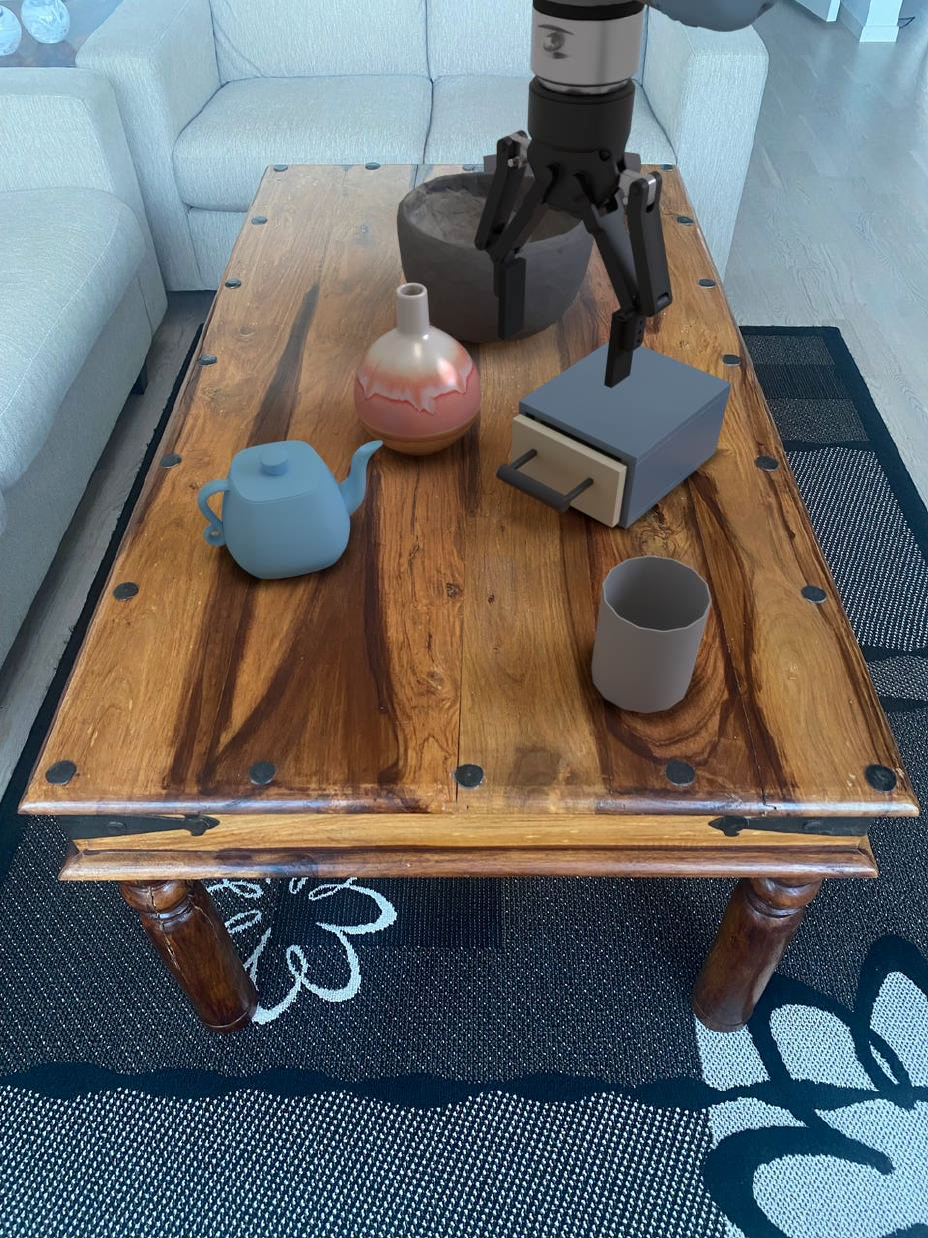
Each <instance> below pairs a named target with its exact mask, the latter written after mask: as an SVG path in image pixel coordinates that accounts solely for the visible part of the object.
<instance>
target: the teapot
mask: <svg viewBox="0 0 928 1238" xmlns="http://www.w3.org/2000/svg"><path fill="white" fill-rule="evenodd" d="M382 445H383V441H381V440H378V441H377V440H373V441H370V442H367V443H365V444H363V445H361V446H360V447H358V448H357V449H356V450H355V452H354V453H353V456H352V458H351V463H350V472H349V475H348V476H347V478H346V479H344V480H343V481H342V482H340V483H339V482H338V480H337V479H336V477H335V476H334V474H333V472H332V471H331V470H330V468H329V466H327V464H326V462H325V461H324V460H323V459H322V457H321V456H320V455H319V453H317V451H316V450H315V448H313V447H312V446H311V445H310V443H307V442H305V441H302V440H293V439H292V440H282V441H275V442H269V443H264V444H259V445H255V446H251V447H247V448H244V449H242V450H240V451H239V452H237V453H236V454H235V455H234V456H233V458H232V461H231V463H230V466H229V468H228V473H227V477H226V478H217V479H213V480H211V481H209V482H207V483H206V484H204V485H202V486H201V488H200V490H198V493H197V498H196V502H197V507H198V509H199V511H200V512H201V514H202V516H203V517H204V518H205V519H206V521H207V522H208V523H209V524H208V525H207V526H206V527H205V529H204V530H203V538H204V540H205V542H206V543H207V544H208V545H209V546H213V547H221V546H224V545H226V547H227V549H228V551H229V553H230V555H231V556H232V557H233V559H234V560H235V562H236V563H237V564H238V565H239V566H240V568H242V569H243V570H244V571H246V572H247V573H248V574H250V575H252V576H253V577H256V578H258V579H263V580H279V579H284V578H292V577H297V576H302V575H306V574H310V573H315V572H318V571H321V570H324V569H327V568H329V567H331V566H333V565H334V564H335V563H336V562H337V561H339V559H340V558H341V557H342V555H343V553H344V552H345V550H346V548H347V546H348V544H349V543H348V542H349V537H350V532H351V520H350V516H351V515H352V514H354V513H355V512H356V511H357V510H358V509H359V508H360V506H361V505H362V503H363V500H364V499H365V495H366V488H367V467H368V462H369V460H370V458H371V456H372V455H373V454H374V453H375V452H377V450H378V449H380V447H382ZM217 493H223V494H222V500H221V518H219V516H217V514H216V513H215V512H214V511H213V510H212V508H211V507H210V506H209V504H208V499H209V498H210V497H211V496H213V495H215V494H217ZM215 532H217V534H213V533H215Z"/></svg>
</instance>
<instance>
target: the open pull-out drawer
mask: <svg viewBox="0 0 928 1238" xmlns="http://www.w3.org/2000/svg"><path fill="white" fill-rule="evenodd" d="M511 422H512V423H511V424H512V427H511V453H510V454H511V455H510V456H511V458H510V460H511V461H510V464H506V463H502V464H500V465H499V466H498V468H497V469H496V473H495V477H496V478H497V479H498V480H499V481H501V482H503V483H505V484H507V485H509V486H511V487H512V488H514V489H516V490H518V491H519V492H521V493H523V494H525V495H527V496H529V497H530V498H533V499H534V500H536V501H538V502H540V503H542V504H543V505H545V506H546V507H549V508H551V509H553V510H555V511H557V512H558V513H560V514H564V513H566V512H567V511H568V509H569V508H570V507H573V508H574V509H576V510H577V511H580V512H581V513H583V514H585V515H587V516H589V517H591V518H592V519H595V520H597V521H598V522H601V523H602V524H604V525H606V526H608V527H610V528H613V527H615V526H616V525H617V523H618V522H619V517H620V510H621V507H622V500H623V494H624V487H625V480H626V473H627V466H628V462H627V461H625V460H623V459H621V458H619V457H617V456H615V455H613V454H611V453H609V452H607V451H605V450H603V449H601V448H599V447H597V446H595V445H593V444H590V443H588V442H586V441H584V440H582V439H580V438H578V437H576V436H574V435H572V434H570V433H568V432H566V431H564V430H562V429H560V428H558V427H556V426H554V425H552V424H550V423H548V422H546V421H544V420H542V419H540V418H537V417H535V421H534V420H532V419H530V418H528V417H526V416H524V415H521V414H519V413H518V414H517V415H516V416H515V417H513V418H512V421H511Z"/></svg>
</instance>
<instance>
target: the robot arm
mask: <svg viewBox="0 0 928 1238" xmlns="http://www.w3.org/2000/svg"><path fill="white" fill-rule="evenodd" d="M779 1H780V0H532V6H531V28H530V31H531V32H530V56H529V69H530V71H531V72H532V73H533V74H534V76H533V78H532V79H531V81H529V84H528V95H527V98H528V99H527V122H526V123H527V125H526V128H527V132H526V131H525V130H523V129H519V130H517V131H515V132H513V133H510V134H508V135H506V136H503V137H501V138H499V139H498V140H497V141H496V149H495V150H496V152H495V154H496V170H495V173H494V177H493V180H492V183H491V187H490V190H489V193H488V196H487V200H486V203H485V206H484V210H483V213H482V216H481V220H480V223H479V226H478V229H477V233H476V236H475V239H474V244H475V247H476V248H477V249H478V250H479V251H482V250H485V251H486V252H487V253H488V254H489V255H490V258H491V261H492V262H493V263H494V273H493V279H494V280H493V283H494V284H493V291H494V294H495V296H496V297H498V298H499V302H498V338H501V339H503V340H505V339H507V338H509V337H510V336H512V335H514V334H515V333H517V332H519V331H520V330H522V329H524V304H525V277H526V259H524V258H521V257H518V258H516V259H515V255H517V254H518V253H520V252H522V251H523V249H522V250H521V248H522V247H523V245H524V244H525V242H526V241H527V240H528V238H529V237H530V235H531V234H532V232H533V231H534V230H535V228H536V227H537V225H538V224H539V222H540V221H541V220H542V218H543V217H544V215H545V214H546V213H547V211H548V210H549V209H551V210H554V211H557V212H566V213H568V214H569V215H570V216H572V217H574V218H576V219H579V220H583V223H584V225H585V228H586V230H587V232H588V233H589V234H592V235H593V237H594V242H595V244H596V247H597V249H598V253H599V255H600V257H601V260H602V263H603V265H604V268H605V270H606V274H607V276H608V279H609V281H610V284H611V287H612V289H613V291H614V295H615V297H616V299H617V302H618V305H619V308H618V309H617V310H615V311H614V312H612V313H611V321H610V329H609V338H608V341H609V346H608V355H607V363H606V372H605V381H604V385H605V386H607V387H609V388H613V387H614V386H615V385H617V384H618V383H620V382H621V381H622V380H624V379H625V378H627V377H628V376H630V372H631V365H632V357H633V351H634V350H635V349H637V348H638V347H640V346H642V344H643V343H644V338H645V337H644V335H645V330H646V325H647V323H646V322H647V318H653V317H655V316H656V315H657V314H659V313H661V312H662V311H664V310H665V309H666V308H668V307H670V306H671V305H672V303H673V300H674V299H673V291H672V284H671V277H670V271H669V264H668V263H669V262H668V258H667V257H668V256H667V250H666V245H665V237H664V230H663V223H662V222H663V221H662V216H661V210H660V209H661V208H660V202H661V194H662V188H663V176H662V174H661V173H660V172H659V171H657V170H653V171H650V172H649V173H646V174H645V173H641V172H640V173H638V172H634V171H631V170H628V166H627V163H626V159H625V152H626V147H627V144H628V141H629V139H630V135H631V132H632V131H631V130H632V123H633V114H634V105H635V104H634V103H635V95H636V85H635V83H634V81H633V79H632V77H633V76H635V74H637V73H638V70H639V66H640V65H639V64H640V55H641V54H640V53H641V43H642V35H643V26H644V14H645V7H646V6H648V7H650V8H651V9H653V10H656V11H659V12H660V13H661V14H662V15H665V16H666V17H668V18H669V19H670V20H671V21H674V22H679V23H680V24H682V25H683V26H686V27H691V28H702V29H706V30H710V31H713V32H719V33H730V32H735V31H739V30H743V29H745V28H748V27H749V26H751V24H753V23H755V22H756V20H757V19H759V18H760V17H761V16H762V15H764V14H765V13H766V12H768V11H769V10H771V9H772V8H773V7H774V6H776V4H778V3H779ZM527 133H528V134H527ZM528 135H529V136H528ZM529 137H530V138H529ZM528 163H529V165H530V167H531V170H532V172H533V174H534V177H535V179H536V180H535V182H534V183H533V185H532V186H531V188H530V189H529V191H528V192H527V194H526V195H525V197H524V198H523V204H522V206H521V207H520V209H519V210H518V212H517V213H516V215H515V216H514V218H513V219H512V221H511V222H510V224H509V225H508V227H507V224H508V221H509V218H510V215H511V212H512V209H513V206H514V203H515V200H516V197H517V195H518V192H519V189H520V186H521V183H522V180H523V177H524V174H525V170H526V166H527V164H528ZM620 188H621V189H622V190H623V192H624V197H623V199H622V202H623V204H624V205H627V215H625V210H624V207H623V205H622V202H621V199H620V196H619V194H618V191H619V190H620ZM604 207H605V208H606V211H607V212H606V215H604V216H602V217H600V216H599V214H598V212H600V211H601V210H602V209H603V208H604ZM625 216H626V220H627V226H626V223H625V220H624V219H625ZM506 227H507V228H506Z"/></svg>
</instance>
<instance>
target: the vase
mask: <svg viewBox="0 0 928 1238" xmlns="http://www.w3.org/2000/svg"><path fill="white" fill-rule="evenodd" d="M395 302H396V303H395V306H396V307H395V309H396V322H397V323H396V327H394V328H392V329H391V330H389V331H387V332H385V333H384V334H383V335H381V336H380V337H379V338H377V339H376V340H375V341H374V342H373V343H372V344H371V345H370V346H369V348H367V350H366V351H365V353H364V354H363V356H362V357H361V360H360V361H359V363H358V366H357V368H356V372H355V375H354V380H353V381H354V382H353V392H352V393H353V394H352V395H353V404H354V409H355V412H356V416H357V418H358V420H359V422H360V423H361V426H362V427H363V428H364V429H365V430H366V432H367V433H368V434H369V435H370V436H371V437H372V438H373V439H374V440H375V441H378V440H381V441H383V444H382V445H383V446H385V447H387V448H389V449H391V450H394V451H395V452H399V453H401V454H404V455H408V456H416V457H421V456H430V455H433V454H437V453H438V452H441V451H443V450H444V449H446V448H448V447H450V446H452V445H453V444H455V443H457V442H458V441H459V440H460V439H461V438H463V437H464V436H465V435H466V434H467V433H468V431H469V430H470V429H471V427H472V426H473V425H474V423H475V421H476V419H477V417H478V415H479V413H480V407H481V402H482V387H481V380H480V379H481V378H480V374H479V372H478V370H477V367H476V364H475V362H474V360H473V358H472V356H471V355H470V354H469V352H468V351H467V349H466V348H465V347H464V346H463V345H462V344H461V343H460V342H459V341H458V340H457V339H456V338H455V337H452V336H450V335H448V334H447V333H445V332H443V331H441V330H440V329H438V328H437V327H435V326H434V325H433V326H432V325H430V324H431V323H430V322H429V311H428V297H427V289H426V288H425V287H424V286H423V285H421V284H418V283H406V282H405V283H403V284H401V285H399V286H398V287H397V288H396V290H395Z"/></svg>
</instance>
